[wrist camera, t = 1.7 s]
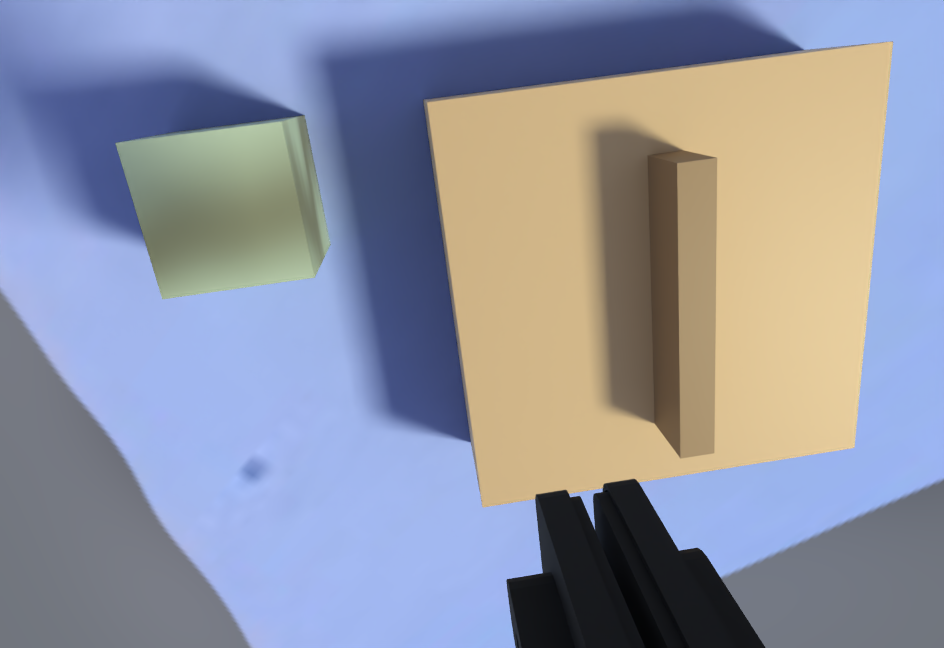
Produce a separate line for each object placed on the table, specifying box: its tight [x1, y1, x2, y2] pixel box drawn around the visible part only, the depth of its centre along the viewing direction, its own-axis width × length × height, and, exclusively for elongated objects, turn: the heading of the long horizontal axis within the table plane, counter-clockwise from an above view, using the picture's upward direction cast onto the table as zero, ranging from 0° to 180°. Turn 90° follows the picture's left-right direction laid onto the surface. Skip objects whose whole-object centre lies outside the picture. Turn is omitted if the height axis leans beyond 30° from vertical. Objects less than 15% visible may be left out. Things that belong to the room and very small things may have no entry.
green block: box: [115, 115, 330, 299], centre depth 23 cm, size 5×5×5 cm
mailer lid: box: [427, 42, 893, 507], centre depth 22 cm, size 15×15×3 cm
